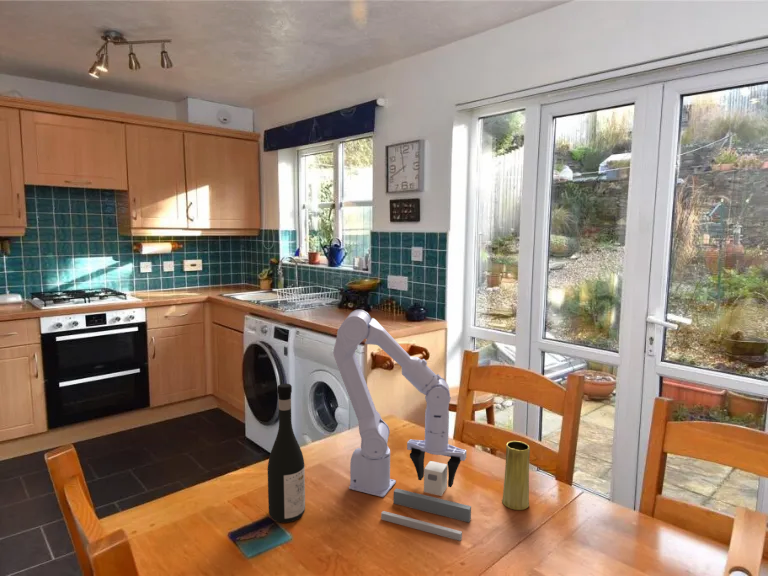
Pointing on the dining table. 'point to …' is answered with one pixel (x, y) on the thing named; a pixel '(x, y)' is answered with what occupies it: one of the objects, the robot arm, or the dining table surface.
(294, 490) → the wine bottle
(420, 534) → the dining table surface
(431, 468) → the cabinet block
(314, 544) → the dining table surface
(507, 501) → the vase
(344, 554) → the dining table surface
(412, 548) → the dining table surface
